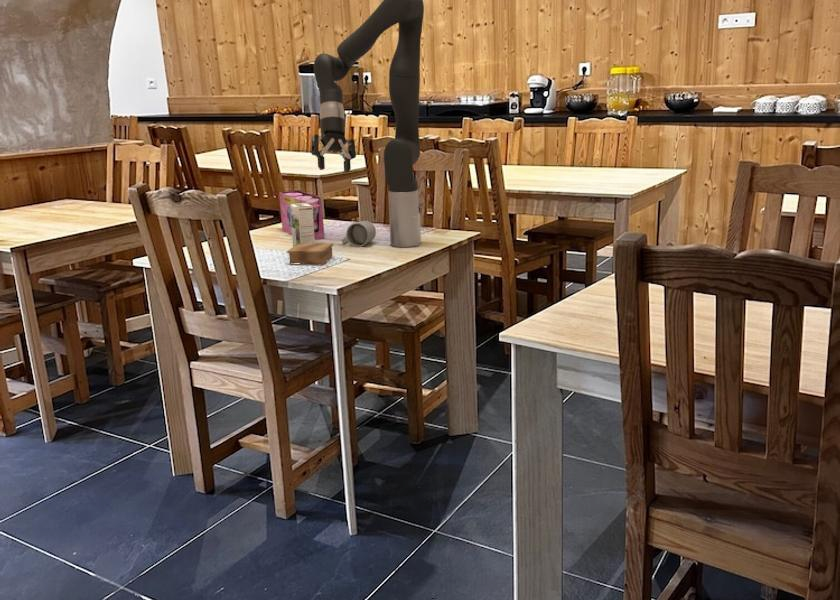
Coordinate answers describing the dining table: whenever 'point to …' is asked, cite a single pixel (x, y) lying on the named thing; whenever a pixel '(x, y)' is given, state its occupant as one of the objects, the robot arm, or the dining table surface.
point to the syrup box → (302, 223)
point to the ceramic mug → (360, 233)
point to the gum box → (297, 198)
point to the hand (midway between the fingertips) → (334, 170)
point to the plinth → (310, 253)
